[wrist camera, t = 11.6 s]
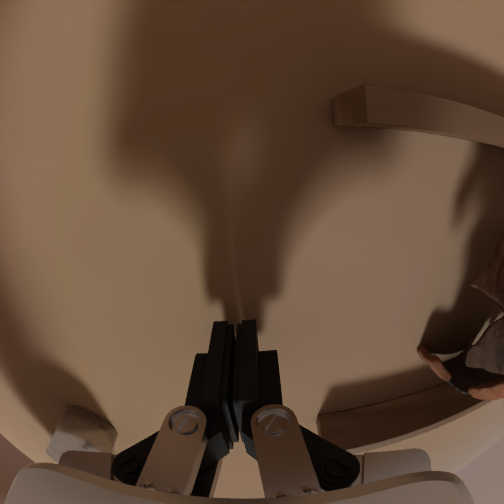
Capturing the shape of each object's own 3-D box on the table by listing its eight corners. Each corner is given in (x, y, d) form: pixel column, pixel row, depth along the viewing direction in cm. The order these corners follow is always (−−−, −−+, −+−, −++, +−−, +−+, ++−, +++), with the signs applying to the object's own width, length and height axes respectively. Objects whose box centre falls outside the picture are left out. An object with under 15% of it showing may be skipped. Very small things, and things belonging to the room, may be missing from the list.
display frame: (508, 360, 15) (523, 380, 12) (316, 422, 15) (322, 459, 12) (563, 155, 7) (592, 165, 5) (331, 98, 8) (364, 84, 5)
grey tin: (126, 442, 18) (113, 487, 13) (83, 431, 18) (68, 471, 13) (101, 411, 16) (80, 462, 11) (56, 399, 16) (34, 442, 11)
